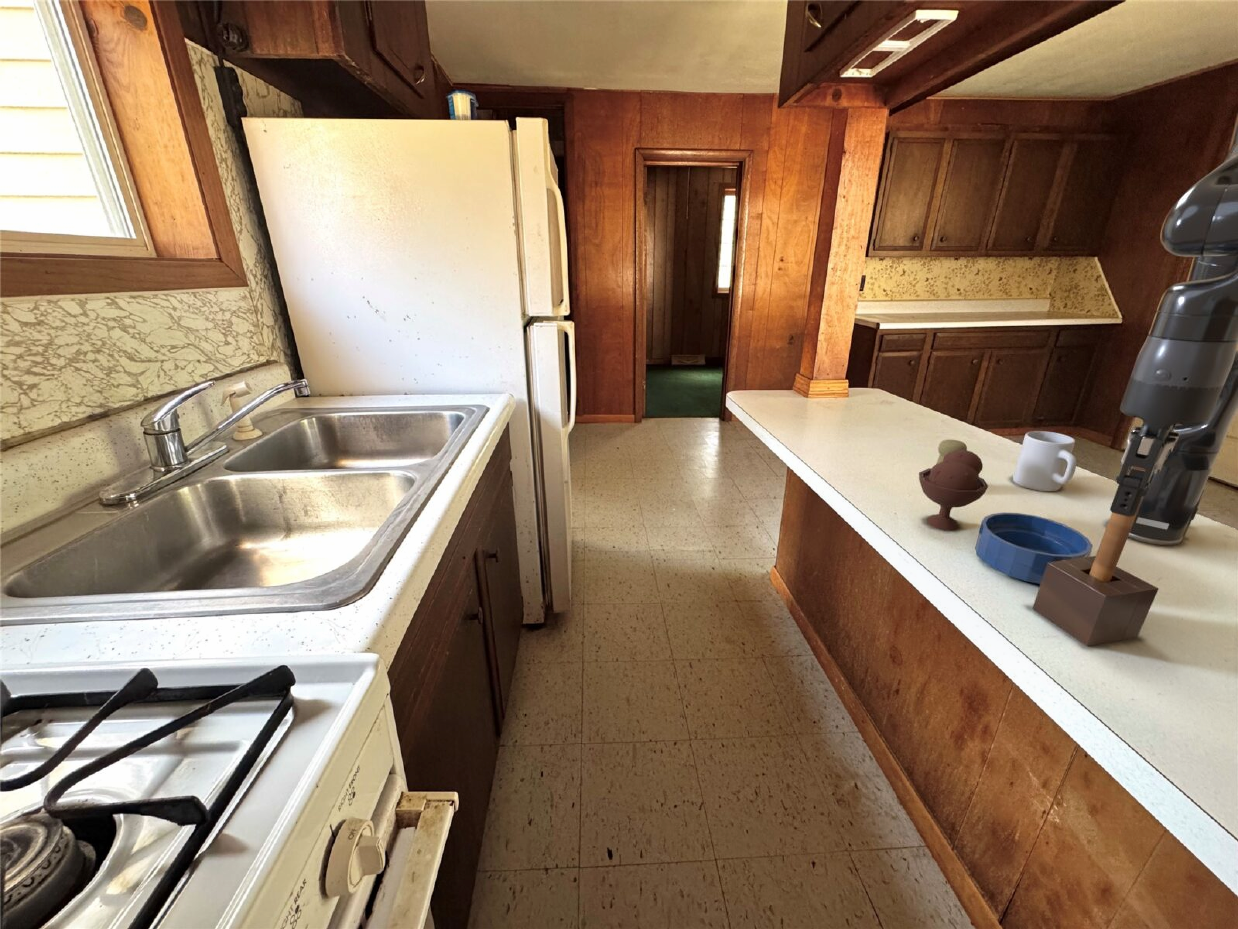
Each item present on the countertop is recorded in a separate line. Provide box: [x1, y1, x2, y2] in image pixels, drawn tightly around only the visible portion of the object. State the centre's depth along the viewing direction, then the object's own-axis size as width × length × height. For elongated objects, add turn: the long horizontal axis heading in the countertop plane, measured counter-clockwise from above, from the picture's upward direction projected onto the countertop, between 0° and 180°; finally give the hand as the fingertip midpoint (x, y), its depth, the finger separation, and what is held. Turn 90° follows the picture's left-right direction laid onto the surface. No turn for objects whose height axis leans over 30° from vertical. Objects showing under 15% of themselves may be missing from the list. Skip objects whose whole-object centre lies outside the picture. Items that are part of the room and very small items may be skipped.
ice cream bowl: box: [918, 449, 989, 532], centre depth 96 cm, size 11×11×15 cm
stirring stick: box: [1089, 496, 1143, 583], centre depth 68 cm, size 2×2×20 cm
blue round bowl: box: [974, 512, 1093, 585], centre depth 84 cm, size 14×14×6 cm
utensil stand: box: [1032, 555, 1160, 647], centre depth 70 cm, size 8×8×8 cm
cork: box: [935, 439, 968, 465], centre depth 111 cm, size 6×6×11 cm
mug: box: [1012, 430, 1077, 492], centre depth 110 cm, size 12×8×11 cm
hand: (1128, 503), depth 65 cm, fingers open, 8 cm apart
